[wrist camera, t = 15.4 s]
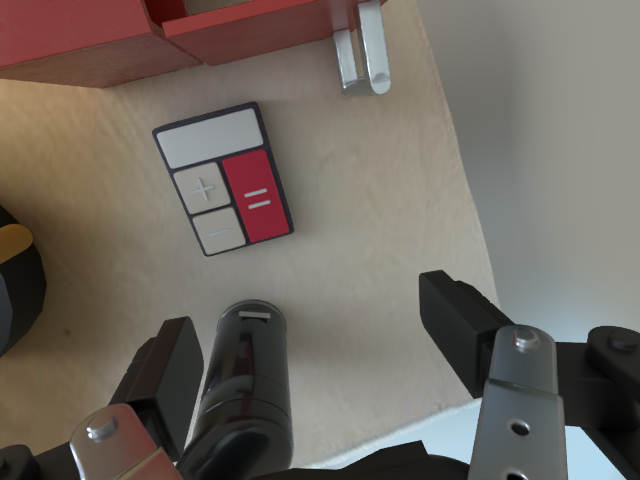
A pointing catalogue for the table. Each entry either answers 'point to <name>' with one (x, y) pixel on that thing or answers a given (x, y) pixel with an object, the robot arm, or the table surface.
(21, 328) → the chair
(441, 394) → the table surface
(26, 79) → the cabinet
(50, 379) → the table surface
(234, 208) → the calculator
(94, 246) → the table surface
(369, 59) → the red cabinet door
